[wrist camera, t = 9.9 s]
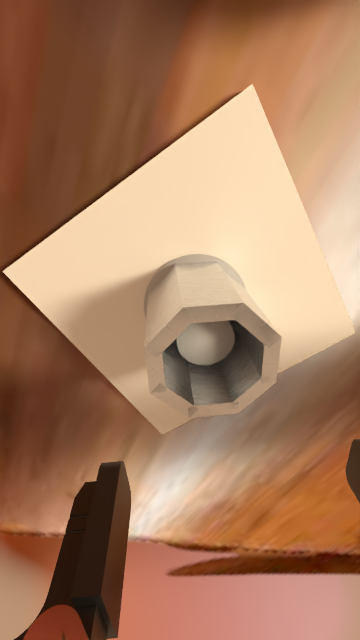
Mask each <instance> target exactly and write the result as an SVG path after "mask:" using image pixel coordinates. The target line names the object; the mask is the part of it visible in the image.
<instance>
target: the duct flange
mask: <svg viewBox="0 0 360 640" xmlns="http://www.w3.org/2000/svg"><path fill="white" fill-rule="evenodd" d="M204 261H217V262H218V263H219V264H220V265H221V266H222V267H223V268H224V269H225V270H226V271H227V272H228V273H230V274H231V275H232V276H233V277H234V278H235V279H236V280H237V281H238V282H239V283H240V284H241V285H243V287H244V288H245V289H246V290H247V292H248V293H249V294H250V296H251V297H252V298H253V300H254V301H255V302H256V304H257V305H258V306H259V308H260V309H261V310H262V311H263V313H264V314H265V315H266V317H267V318H268V319H269V321H270V322H271V323H272V325H273V326H274V327H275V329H276V330H277V331H278V332H279V334H280V335H281V336H282V340H281V349H280V357H279V366H278V374H279V373H281V372H283V371H284V370H286V369H288V368H290V367H292V366H294V365H296V364H298V363H300V362H302V361H303V360H305V359H307V358H309V357H311V356H313V355H315V354H317V353H319V352H320V351H322V350H324V349H326V348H328V347H330V346H332V345H334V344H336V343H338V342H339V341H341V340H343V339H345V338H347V337H349V336H351V335H353V334H355V333H356V332H355V329H354V327H353V325H352V322H351V320H350V317H349V315H348V312H347V310H346V308H345V305H344V303H343V300H342V298H341V296H340V293H339V291H338V288H337V286H336V284H335V281H334V279H333V276H332V274H331V272H330V269H329V267H328V264H327V262H326V260H325V257H324V255H323V252H322V250H321V248H320V245H319V243H318V240H317V238H316V236H315V233H314V231H313V228H312V226H311V223H310V221H309V219H308V216H307V214H306V211H305V209H304V207H303V204H302V202H301V199H300V197H299V195H298V192H297V190H296V187H295V185H294V183H293V180H292V178H291V175H290V173H289V171H288V168H287V166H286V163H285V161H284V159H283V156H282V154H281V151H280V149H279V147H278V144H277V142H276V139H275V137H274V134H273V132H272V130H271V127H270V125H269V122H268V120H267V118H266V115H265V113H264V110H263V108H262V106H261V103H260V101H259V98H258V96H257V94H256V91H255V89H254V86H253V84H252V85H250V86H249V87H248V88H246V89H245V90H244V91H242V92H241V93H240V94H238V95H237V96H236V97H234V98H233V99H232V100H230V101H229V102H228V103H226V104H225V105H224V106H222V107H221V108H220V109H218V110H217V111H216V112H214V113H213V114H212V115H210V116H209V117H208V118H206V119H205V120H204V121H202V122H201V123H200V124H198V125H197V126H196V127H194V128H193V129H192V130H190V131H189V132H188V133H186V134H185V135H184V136H182V137H181V138H180V139H178V140H177V141H176V142H174V143H173V144H172V145H170V146H169V147H168V148H166V149H165V150H164V151H162V152H161V153H160V154H158V155H157V156H156V157H154V158H153V159H152V160H150V161H149V162H148V163H146V164H145V165H144V166H142V167H141V168H140V169H138V170H137V171H136V172H134V173H133V174H132V175H130V176H129V177H128V178H126V179H125V180H124V181H122V182H121V183H120V184H118V185H117V186H116V187H114V188H113V189H112V190H110V191H109V192H108V193H106V194H105V195H104V196H102V197H101V198H100V199H98V200H97V201H96V202H94V203H93V204H92V205H90V206H89V207H88V208H86V209H85V210H84V211H82V212H81V213H80V214H78V215H77V216H76V217H74V218H73V219H72V220H70V221H69V222H68V223H66V224H65V225H64V226H62V227H61V228H60V229H58V230H57V231H56V232H54V233H53V234H52V235H50V236H49V237H48V238H46V239H45V240H44V241H42V242H41V243H40V244H38V245H37V246H36V247H34V248H33V249H32V250H30V251H29V252H28V253H26V254H25V255H24V256H22V257H21V258H20V259H18V260H17V261H16V262H14V263H13V264H12V265H10V266H9V267H8V268H6V269H5V270H4V271H2V272H3V273H4V274H5V275H6V276H7V277H8V278H9V279H10V280H11V281H12V282H13V283H14V284H15V285H16V286H17V287H18V288H19V289H20V290H21V291H22V292H23V293H24V294H25V295H26V296H27V297H28V298H29V299H30V300H31V301H32V302H33V303H34V304H35V305H36V306H37V307H38V308H39V309H40V311H41V312H42V313H43V314H44V315H45V316H46V317H47V318H48V319H49V320H50V321H51V322H52V323H53V324H54V325H55V326H56V327H57V328H58V329H59V330H60V331H61V332H62V333H63V334H64V335H65V336H66V337H67V338H68V339H69V340H70V341H71V342H72V343H73V344H74V345H75V346H76V347H77V348H78V349H79V350H80V351H81V352H82V353H83V355H84V356H85V357H86V358H87V359H88V360H89V361H90V362H91V363H92V364H93V365H94V366H95V367H96V368H97V369H98V370H99V371H100V372H101V373H102V374H103V375H104V376H105V377H106V378H107V379H108V380H109V381H110V382H111V383H112V384H113V385H114V386H115V387H116V388H117V389H118V390H119V391H120V392H121V393H122V394H123V395H124V396H125V397H126V399H127V400H128V401H129V402H130V403H131V404H132V405H133V406H134V407H135V408H136V409H137V410H138V411H139V412H140V413H141V414H142V415H143V416H144V417H145V418H146V419H147V420H148V421H149V422H150V423H151V424H152V425H153V426H154V427H155V428H156V429H157V430H158V431H159V432H160V433H161V434H162V435H163V434H165V433H167V432H169V431H171V430H173V429H175V428H176V427H178V426H180V425H182V424H184V423H186V422H188V421H190V420H192V419H194V418H188V417H186V416H185V415H183V414H182V413H180V412H178V411H177V410H175V409H174V408H172V407H171V406H169V405H167V404H166V403H164V402H163V401H161V400H160V399H158V398H156V397H155V396H153V395H152V394H150V391H149V383H148V375H147V367H146V359H145V351H144V343H145V330H146V318H147V306H148V294H149V292H150V291H151V290H152V288H153V287H154V286H155V285H156V284H157V283H158V282H159V281H160V280H161V278H162V277H163V276H164V275H165V274H166V273H167V272H168V271H169V269H170V268H171V267H172V266H173V265H174V264H175V263H189V262H204ZM176 339H177V347H178V350H179V352H180V354H181V355H182V356H183V357H184V358H185V359H186V360H187V361H189V362H191V363H194V364H198V365H210V364H214V363H217V362H219V361H221V360H222V359H224V358H225V357H226V356H227V355H228V354H229V353H230V351H231V350H232V348H233V345H234V341H235V335H234V331H233V328H232V326H231V324H230V322H229V320H228V321H215V322H202V323H191V324H190V325H189V326H188V327H187V328H186V329H185V330H184V331H183V332H182V333H181V334H180V335H179V336H178V337H177V338H176Z"/></svg>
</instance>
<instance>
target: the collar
mask: <svg viewBox="0 0 360 640" xmlns="http://www.w3.org/2000/svg"><path fill="white" fill-rule="evenodd" d="M228 320H229V322H230V324H231V326H232V328H233V331H234V335H235V341H234V345H233V348H232V350H231V351H230V353H229V354H228V355H227V356H226V357H225V358H224V359H222V360H221V361H219V362H217V363H214V364H210V365H198V364H194V363H191V362H189V361H187V360H186V359H185V358H184V357H183V356H182V355H181V354H180V352H179V350H178V347H177V339H176V338H177V337H178V336H179V335H180V334H181V333H182V332H183V331H184V330H185V329H186V328H187V327H188V326H189V325H190V324H191V323H202V322H215V321H228ZM281 340H282V336H281V335H280V334H279V332H278V331H277V330H276V329H275V327H274V326H273V325H272V323H271V322H270V321H269V319H268V318H267V317H266V315H265V314H264V313H263V311H262V310H261V309H260V308H259V306H258V305H257V304H256V302H255V301H254V300H253V298H252V297H251V296H250V294H249V293H248V292H247V290H246V289H245V288H244V287H243V285H241V284H240V283H239V282H238V281H237V280H236V279H235V278H234V277H233V276H232V275H231V274H230V273H228V272H227V271H226V270H225V269H224V268H223V267H222V266H221V265H220V264H219V263H218V262H217V261H204V262H189V263H175V264H174V265H173V266H172V267H171V268H170V269H169V271H168V272H167V273H166V274H165V275H164V276H163V277H162V278H161V280H160V281H159V282H158V283H157V284H156V285H155V286H154V287H153V288H152V290H151V291H150V292H149V294H148V306H147V318H146V330H145V343H144V351H145V359H146V367H147V375H148V383H149V391H150V394H152V395H153V396H155V397H156V398H158V399H160V400H161V401H163V402H164V403H166V404H167V405H169V406H171V407H172V408H174V409H175V410H177V411H178V412H180V413H182V414H183V415H185V416H186V417H188V418H195V417H206V416H217V415H229V414H239V413H240V412H241V411H242V410H243V409H245V408H246V407H247V406H248V405H250V404H251V403H252V402H253V401H254V400H256V399H257V398H258V397H259V396H261V395H262V394H263V393H264V392H266V391H267V390H268V389H269V388H270V387H272V386H273V385H274V384H275V383H277V374H278V366H279V357H280V349H281Z"/></svg>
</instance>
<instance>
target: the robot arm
mask: <svg viewBox="0 0 360 640" xmlns="http://www.w3.org/2000/svg"><path fill="white" fill-rule="evenodd" d="M346 476H347V480H348V483H349V485H350V487H351V489H352V491H353V492H354V494H355V496H356V497H357V499H358V501H359V502H360V439H356V440H354V441H353V442H352V445H351V449H350V453H349V458H348V462H347V466H346ZM130 511H131V491H130V486H129V482H128V477H127V473H126V469H125V464H124V462H123V461H119V462H108V463H102V464H101V465H100V468H99V472H98V476H97V481H94V482H85V484H84V485H83V487H82V488H81V490H80V491H79V493H78V494H77V496H76V497H75V499H74V503H73V506H72V510H71V514H70V519H69V521H68V524H67V528H66V534H65V535H64V539H63V542H62V546H61V549H60V553H59V557H58V560H57V563H56V567H55V571H54V575H53V578H52V582H51V585H50V588H49V592H48V595H47V598H46V601H45V603H44V606H43V608H42V609H41V611H40V613H39V615H38V616H37V618H36V619H35V620H34V622H33V623H32V624H31V625H30V626H29V628H28V629H27V630H25V631H24V632H23V633H22V634H21V635H20V636H18V637H17V638H16V639H14V640H106V639H109V638H117V637H118V628H119V618H120V609H121V598H122V589H123V579H124V570H125V560H126V550H127V540H128V530H129V520H130Z"/></svg>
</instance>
